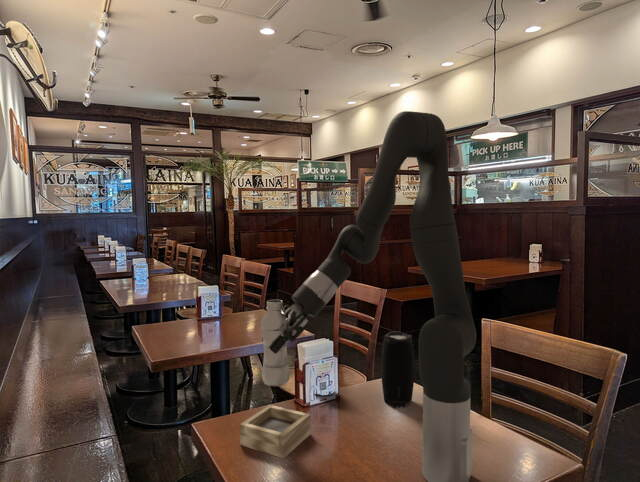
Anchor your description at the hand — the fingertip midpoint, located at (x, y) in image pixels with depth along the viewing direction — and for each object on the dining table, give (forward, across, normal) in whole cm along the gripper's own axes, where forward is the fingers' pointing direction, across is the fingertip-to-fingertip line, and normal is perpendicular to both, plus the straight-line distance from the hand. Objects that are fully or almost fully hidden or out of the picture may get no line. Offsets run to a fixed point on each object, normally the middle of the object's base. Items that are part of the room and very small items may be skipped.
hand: (268, 346), depth 102 cm
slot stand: (+15, 0, +17) cm, 23 cm away
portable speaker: (-12, -7, +45) cm, 47 cm away
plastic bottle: (+6, 0, +8) cm, 10 cm away
